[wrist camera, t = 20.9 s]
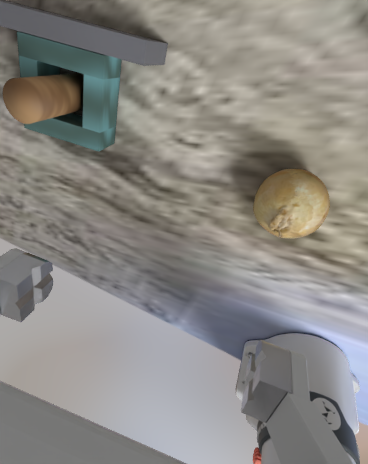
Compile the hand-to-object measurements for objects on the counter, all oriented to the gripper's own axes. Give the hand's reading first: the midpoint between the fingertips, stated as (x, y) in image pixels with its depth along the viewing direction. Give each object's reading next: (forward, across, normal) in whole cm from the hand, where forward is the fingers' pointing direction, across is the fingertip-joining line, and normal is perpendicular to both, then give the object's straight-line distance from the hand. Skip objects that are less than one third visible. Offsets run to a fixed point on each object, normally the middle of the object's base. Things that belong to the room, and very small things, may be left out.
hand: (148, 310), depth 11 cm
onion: (+28, -8, +4) cm, 30 cm away
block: (+28, +20, -1) cm, 34 cm away
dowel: (+28, +20, -1) cm, 34 cm away
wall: (+28, +20, -8) cm, 35 cm away
